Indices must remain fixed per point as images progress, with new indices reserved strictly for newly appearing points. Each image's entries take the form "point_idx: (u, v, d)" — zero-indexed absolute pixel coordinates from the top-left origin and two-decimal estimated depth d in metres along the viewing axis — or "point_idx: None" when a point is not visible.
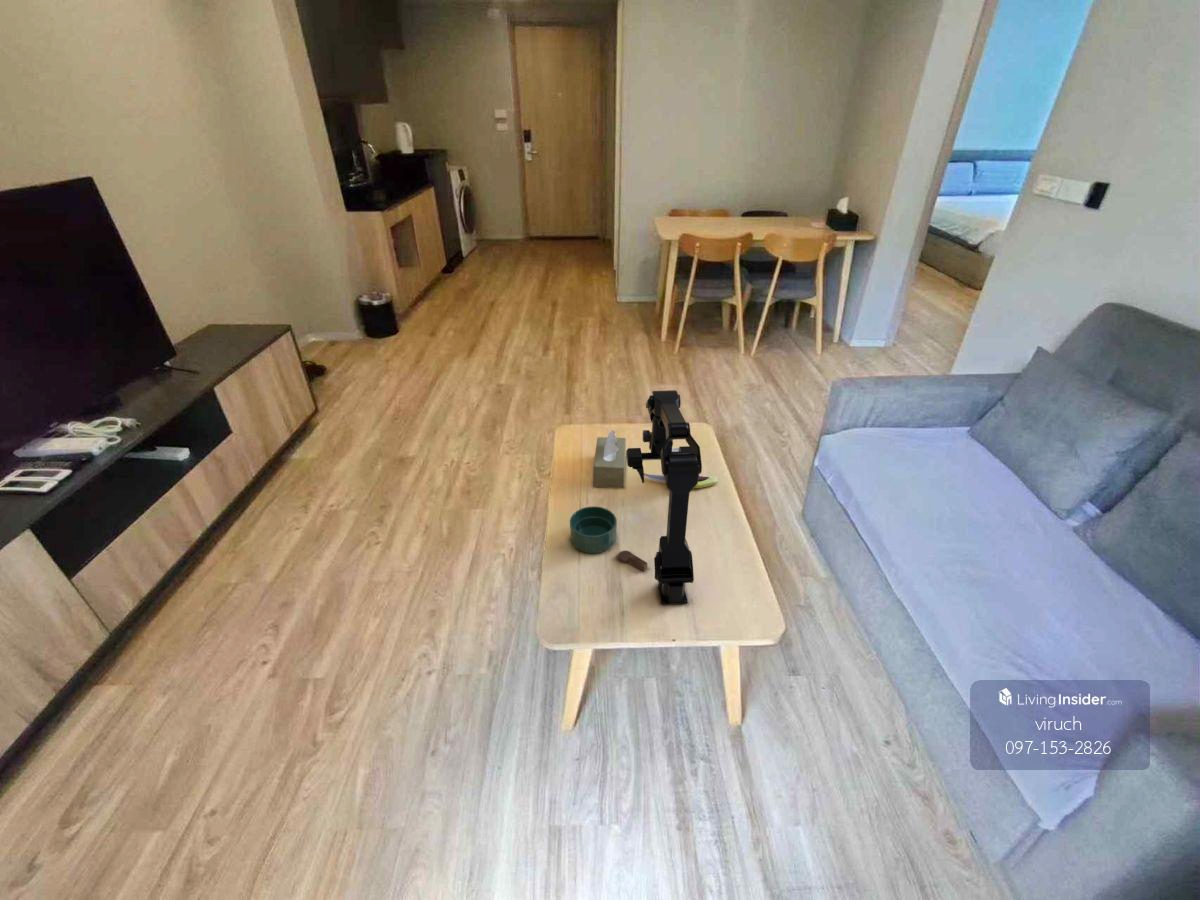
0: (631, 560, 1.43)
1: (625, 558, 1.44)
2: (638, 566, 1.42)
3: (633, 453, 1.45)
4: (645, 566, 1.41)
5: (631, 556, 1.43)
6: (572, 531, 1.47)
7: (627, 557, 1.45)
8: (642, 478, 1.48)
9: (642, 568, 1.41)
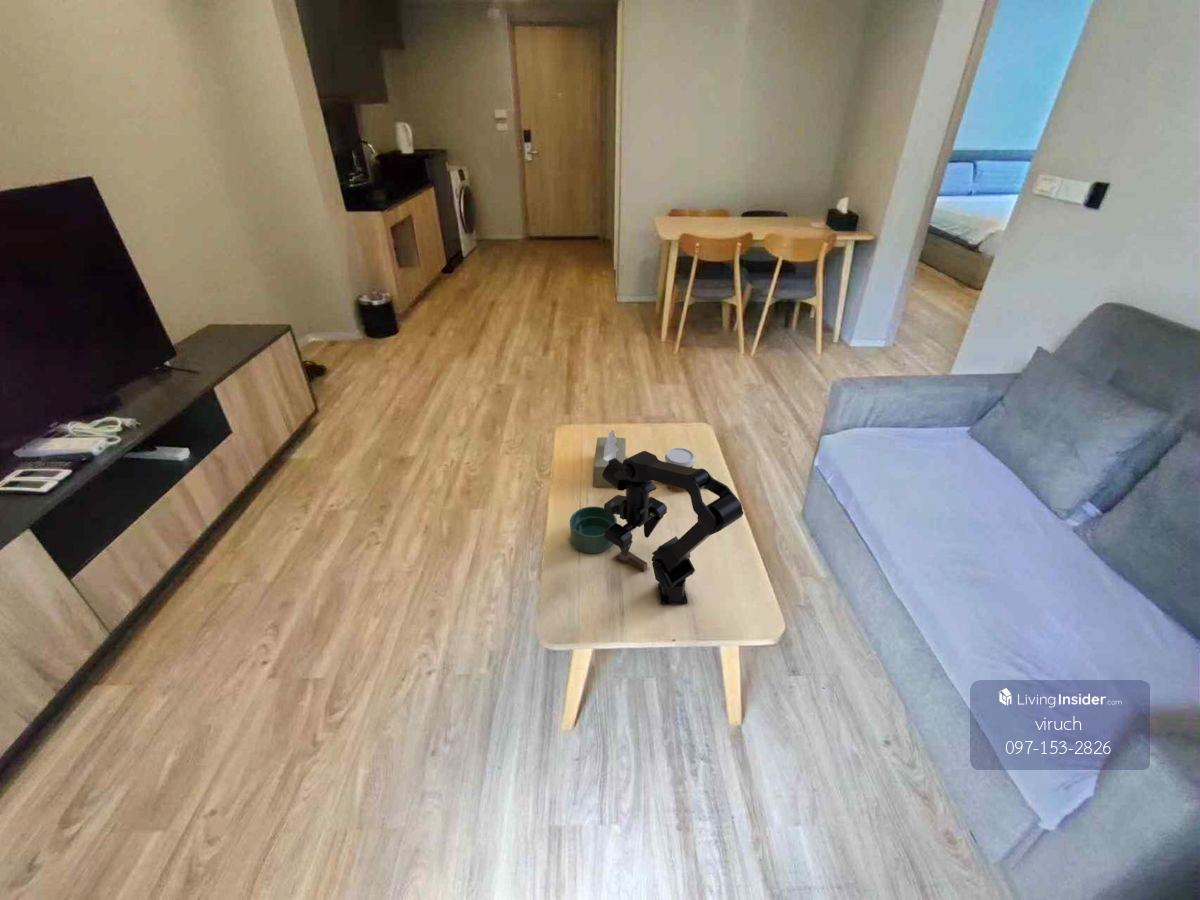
0: (631, 560, 1.43)
1: (625, 558, 1.44)
2: (638, 566, 1.42)
3: (618, 532, 1.30)
4: (645, 566, 1.41)
5: (631, 556, 1.43)
6: (572, 531, 1.47)
7: (627, 557, 1.45)
8: (627, 551, 1.36)
9: (642, 568, 1.41)
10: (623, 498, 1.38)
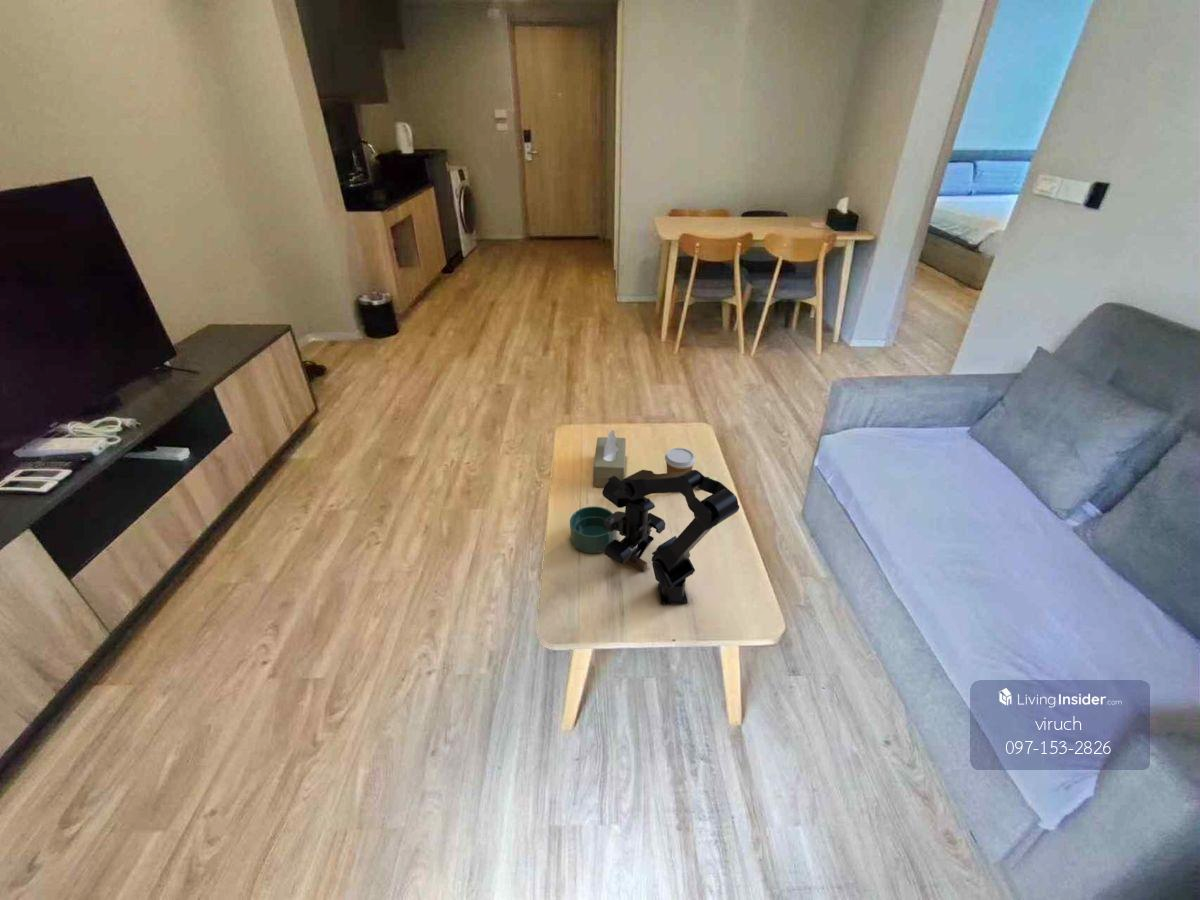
0: None
1: None
2: (638, 566, 1.42)
3: (618, 548, 1.33)
4: (645, 566, 1.41)
5: None
6: (572, 531, 1.47)
7: None
8: (635, 559, 1.41)
9: (642, 568, 1.41)
10: (622, 514, 1.41)
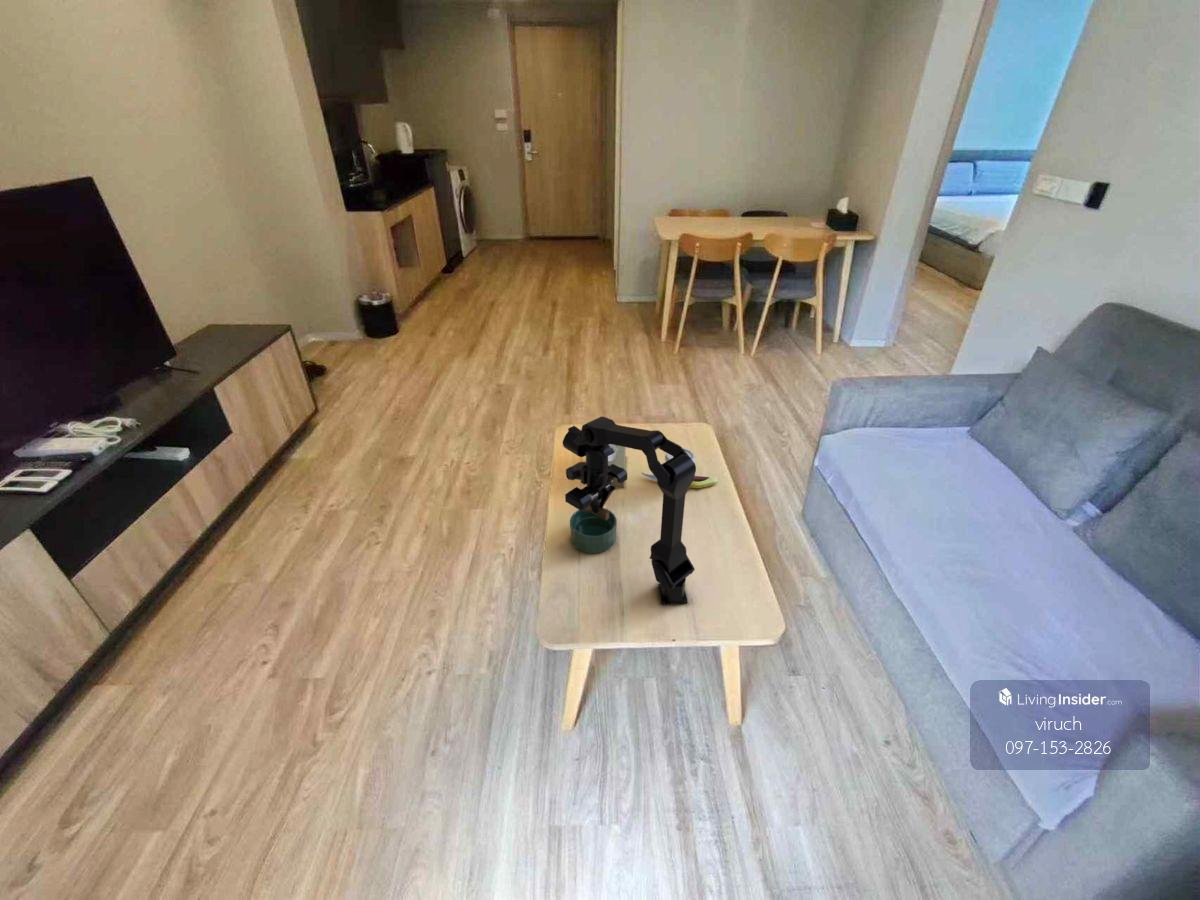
0: None
1: (588, 508, 1.47)
2: (600, 515, 1.44)
3: (578, 495, 1.35)
4: (607, 515, 1.43)
5: None
6: (572, 531, 1.47)
7: (590, 507, 1.47)
8: (597, 508, 1.43)
9: (603, 517, 1.44)
10: (585, 464, 1.43)
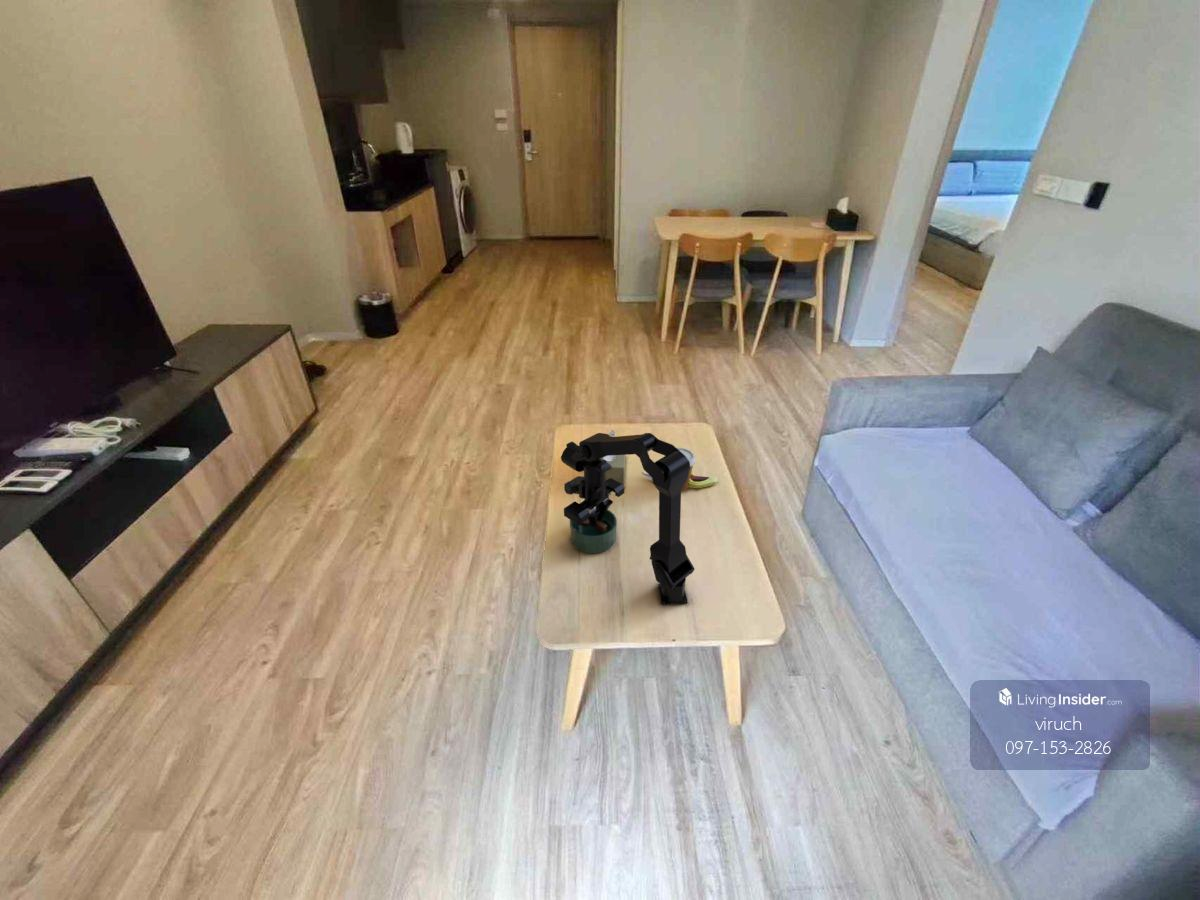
0: None
1: (586, 521, 1.50)
2: (598, 528, 1.48)
3: (576, 509, 1.39)
4: (605, 528, 1.47)
5: None
6: (572, 531, 1.47)
7: (588, 520, 1.50)
8: (595, 522, 1.46)
9: (601, 530, 1.47)
10: (583, 478, 1.46)
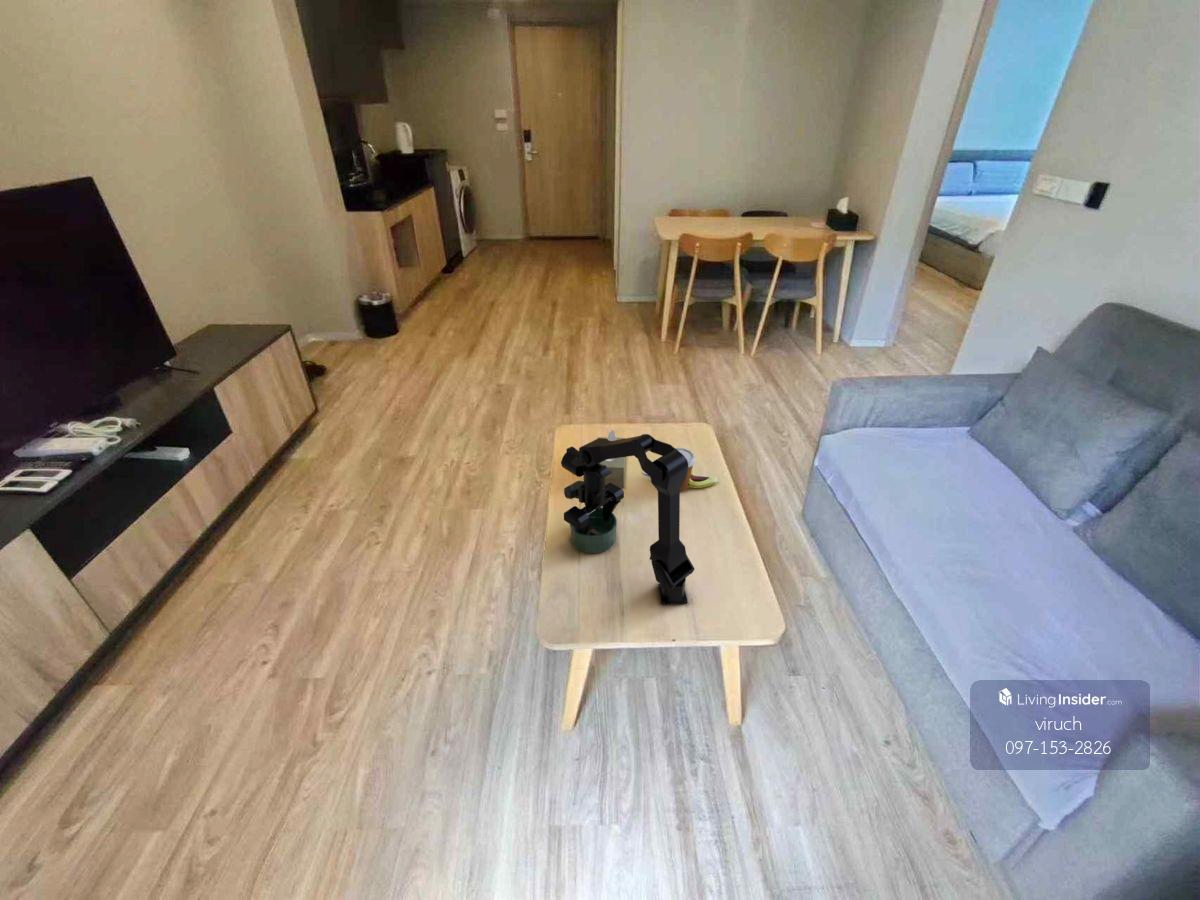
0: (592, 534, 1.51)
1: None
2: None
3: (576, 514, 1.40)
4: None
5: (592, 531, 1.51)
6: (572, 531, 1.47)
7: (588, 532, 1.52)
8: (586, 533, 1.45)
9: None
10: (582, 483, 1.47)
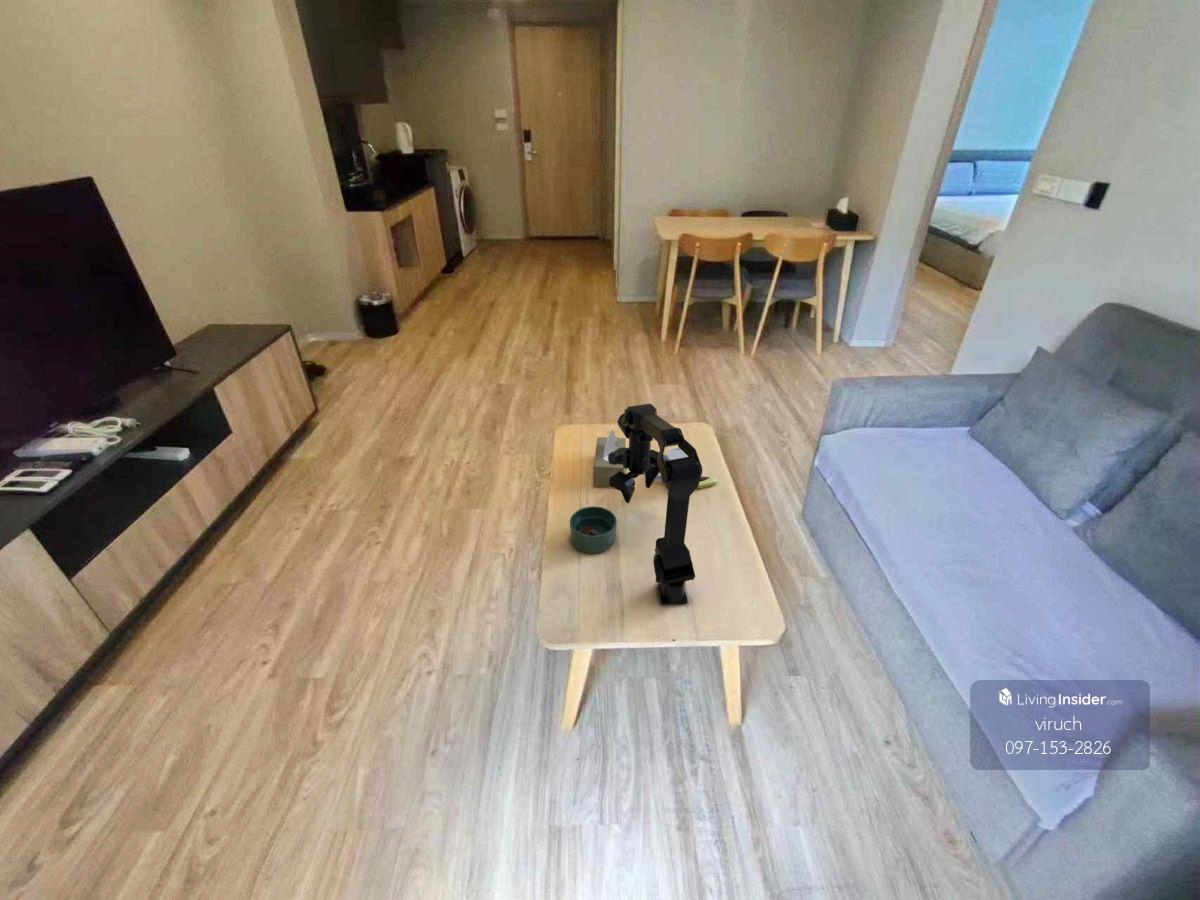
0: (592, 534, 1.51)
1: (586, 533, 1.52)
2: None
3: (622, 478, 1.39)
4: None
5: (592, 531, 1.51)
6: (572, 531, 1.47)
7: (588, 532, 1.52)
8: (630, 499, 1.45)
9: None
10: (626, 449, 1.47)
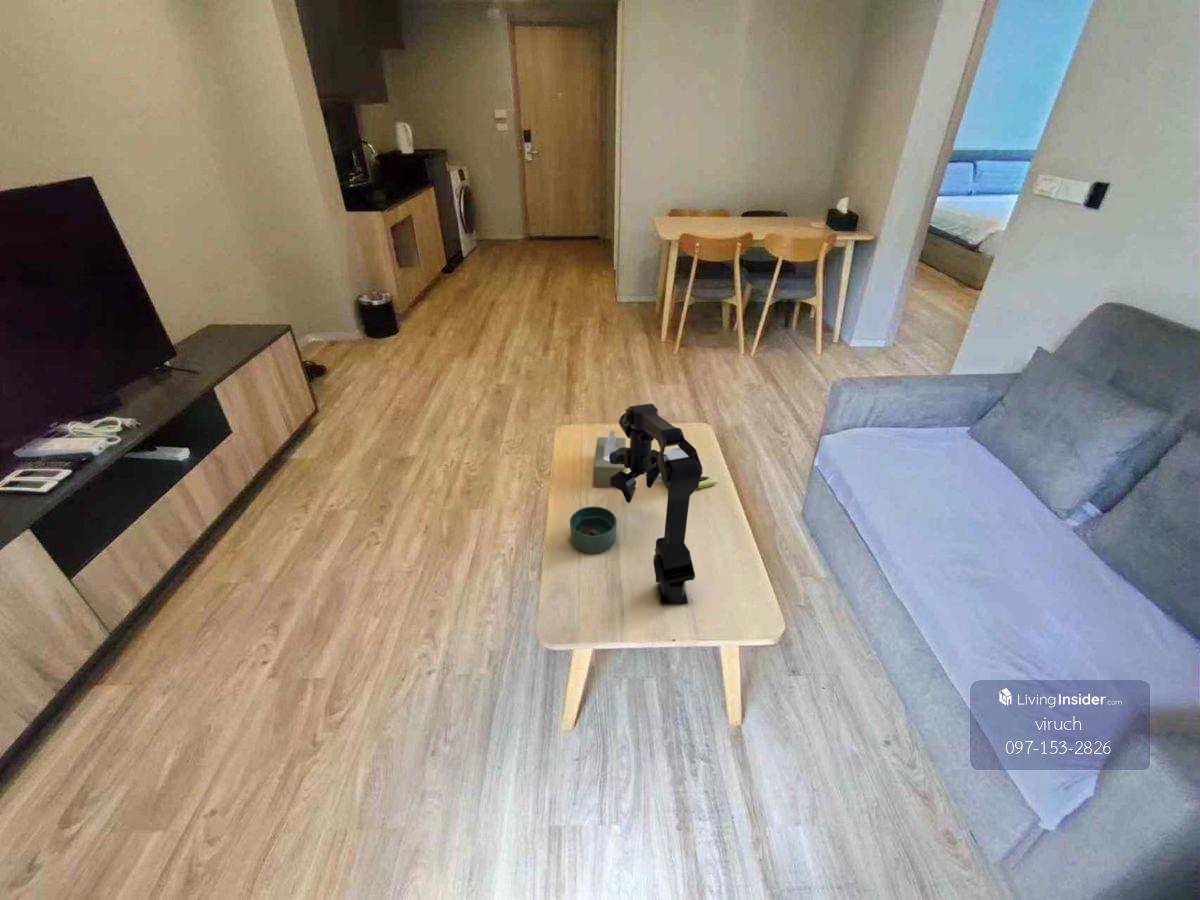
0: (592, 534, 1.51)
1: (586, 533, 1.52)
2: None
3: (623, 478, 1.40)
4: None
5: (592, 531, 1.51)
6: (572, 531, 1.47)
7: (588, 532, 1.52)
8: (631, 498, 1.45)
9: None
10: (627, 449, 1.47)
